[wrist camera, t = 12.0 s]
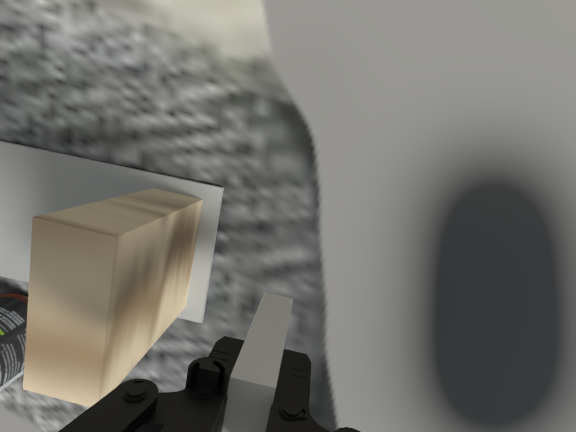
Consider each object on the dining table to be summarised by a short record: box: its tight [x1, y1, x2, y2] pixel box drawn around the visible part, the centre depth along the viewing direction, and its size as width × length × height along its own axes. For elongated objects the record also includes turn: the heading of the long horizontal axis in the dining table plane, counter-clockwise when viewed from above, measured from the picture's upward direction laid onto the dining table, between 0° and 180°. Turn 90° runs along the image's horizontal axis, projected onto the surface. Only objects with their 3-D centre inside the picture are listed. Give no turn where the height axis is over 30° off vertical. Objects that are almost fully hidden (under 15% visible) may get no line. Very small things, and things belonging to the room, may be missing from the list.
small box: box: [23, 188, 203, 407], centre depth 19 cm, size 8×4×10 cm, turn 168°
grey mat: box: [0, 141, 224, 323], centre depth 25 cm, size 10×16×1 cm, turn 79°
